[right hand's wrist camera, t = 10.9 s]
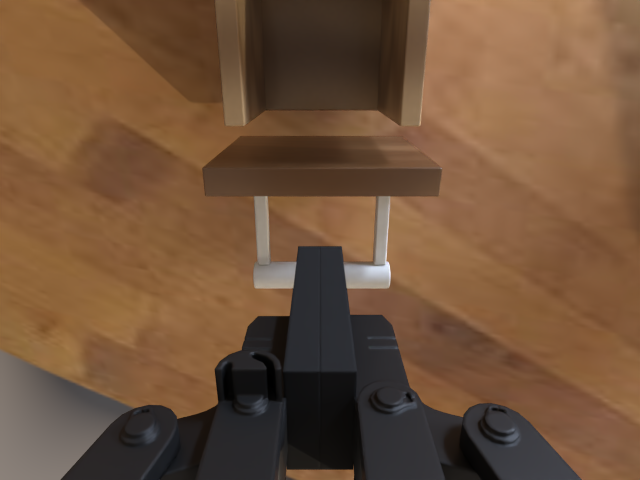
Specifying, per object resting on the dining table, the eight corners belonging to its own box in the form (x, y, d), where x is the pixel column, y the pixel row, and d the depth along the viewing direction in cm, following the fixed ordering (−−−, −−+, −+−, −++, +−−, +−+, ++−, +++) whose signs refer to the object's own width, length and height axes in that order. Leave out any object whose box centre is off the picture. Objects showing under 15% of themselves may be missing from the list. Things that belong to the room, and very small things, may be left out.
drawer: (395, 242, 28) (426, 314, 19) (247, 242, 28) (217, 314, 19) (429, -237, 19) (512, -469, 11) (214, -238, 19) (135, -469, 11)
